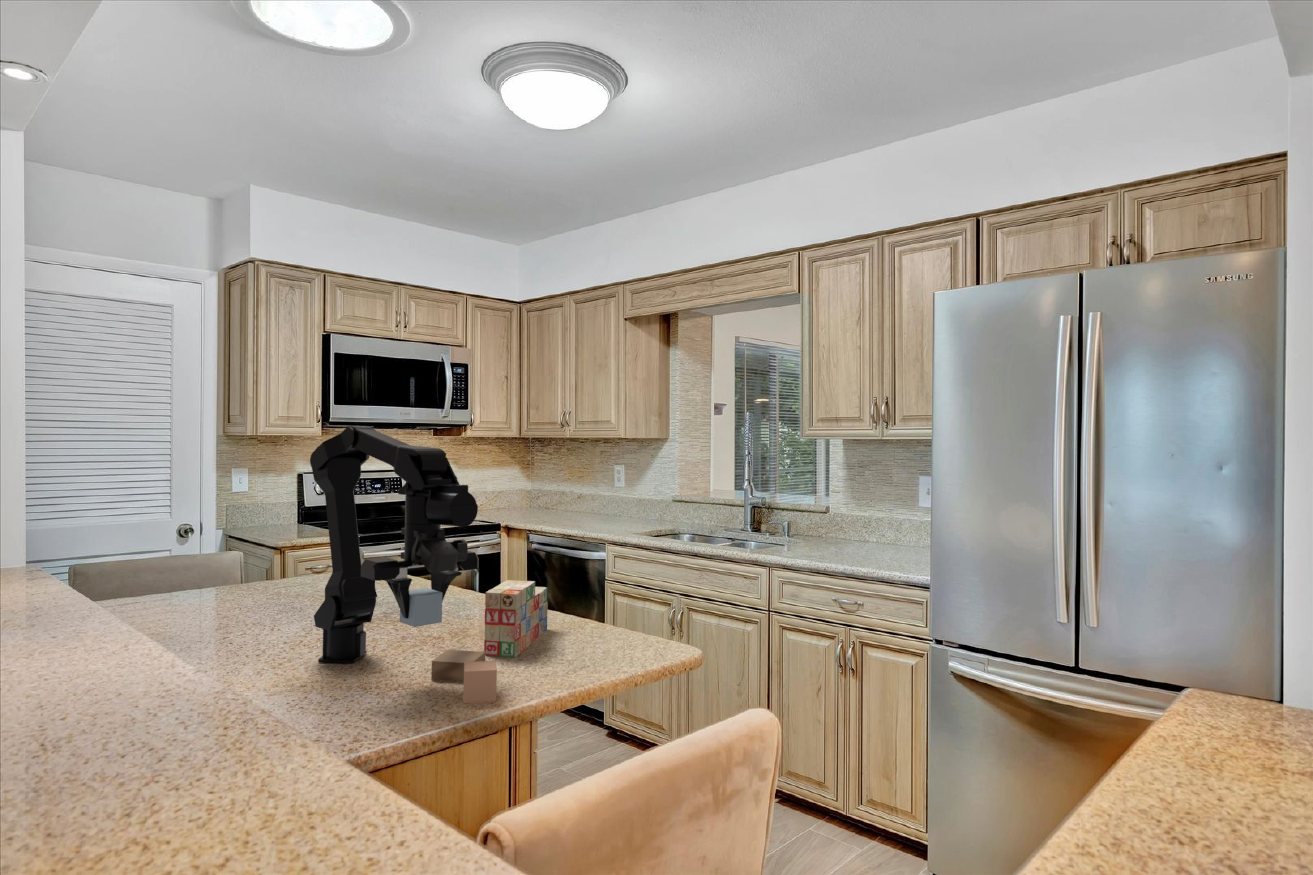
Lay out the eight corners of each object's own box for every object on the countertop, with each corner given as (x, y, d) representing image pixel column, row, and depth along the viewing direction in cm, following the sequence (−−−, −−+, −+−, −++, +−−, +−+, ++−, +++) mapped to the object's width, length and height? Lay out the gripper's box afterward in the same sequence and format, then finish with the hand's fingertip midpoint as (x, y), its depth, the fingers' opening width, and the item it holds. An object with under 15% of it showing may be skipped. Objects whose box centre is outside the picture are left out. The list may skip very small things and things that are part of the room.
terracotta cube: (463, 703, 117) (464, 671, 117) (463, 692, 122) (464, 662, 122) (496, 701, 118) (496, 669, 118) (495, 691, 123) (495, 660, 123)
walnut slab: (431, 681, 127) (431, 660, 127) (446, 669, 134) (447, 649, 134) (471, 683, 127) (471, 663, 127) (484, 671, 134) (485, 651, 134)
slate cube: (399, 621, 126) (400, 591, 126) (427, 617, 130) (427, 588, 130) (414, 627, 123) (414, 596, 123) (441, 622, 126) (442, 592, 126)
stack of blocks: (519, 628, 163) (521, 571, 163) (547, 630, 163) (548, 573, 163) (483, 656, 142) (484, 591, 142) (515, 658, 141) (516, 592, 141)
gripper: (391, 531, 114) (389, 634, 114) (497, 523, 127) (495, 615, 127) (360, 524, 122) (358, 621, 122) (462, 517, 135) (460, 604, 135)
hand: (420, 615), depth 126 cm, fingers closed on slate cube, 5 cm apart
